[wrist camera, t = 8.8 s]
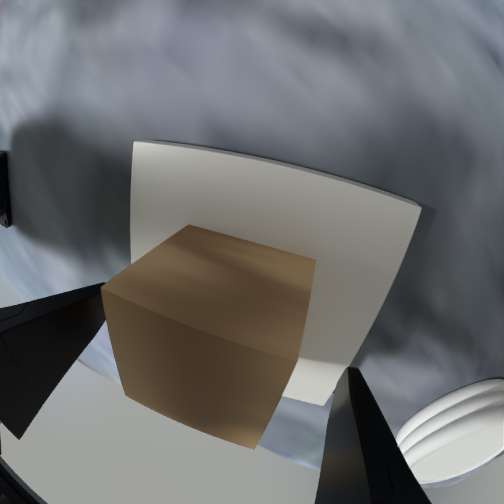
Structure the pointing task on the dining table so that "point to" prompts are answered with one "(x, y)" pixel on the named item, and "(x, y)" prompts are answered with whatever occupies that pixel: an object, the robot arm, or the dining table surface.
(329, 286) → the white board
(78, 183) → the dining table surface
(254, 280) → the oak cube
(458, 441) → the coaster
